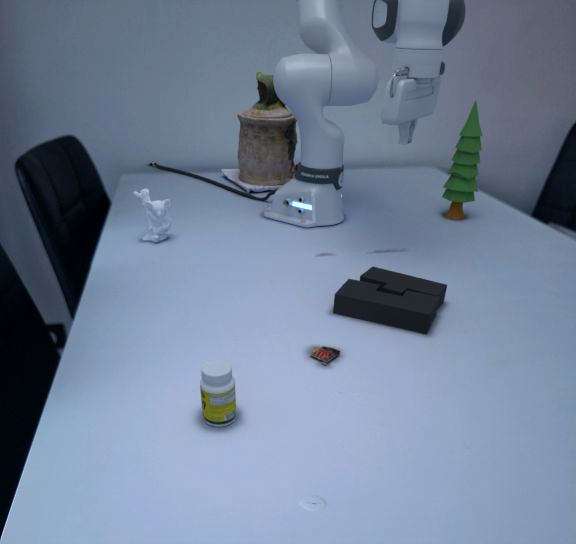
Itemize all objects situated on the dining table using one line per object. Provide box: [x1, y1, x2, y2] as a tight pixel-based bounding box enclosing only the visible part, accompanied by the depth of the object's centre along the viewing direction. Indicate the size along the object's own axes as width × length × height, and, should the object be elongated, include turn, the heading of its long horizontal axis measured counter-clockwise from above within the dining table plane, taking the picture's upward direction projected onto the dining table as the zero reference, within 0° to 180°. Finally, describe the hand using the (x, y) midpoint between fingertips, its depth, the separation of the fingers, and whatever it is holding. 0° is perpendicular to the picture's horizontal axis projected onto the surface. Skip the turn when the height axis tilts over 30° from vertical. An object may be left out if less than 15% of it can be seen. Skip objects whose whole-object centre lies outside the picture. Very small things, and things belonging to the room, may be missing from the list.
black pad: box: [359, 265, 448, 311], centre depth 105 cm, size 16×8×4 cm, turn 58°
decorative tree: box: [441, 99, 483, 221], centre depth 144 cm, size 10×9×30 cm
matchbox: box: [309, 345, 341, 366], centre depth 88 cm, size 5×5×1 cm
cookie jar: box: [221, 70, 298, 194], centre depth 170 cm, size 25×25×32 cm
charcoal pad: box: [332, 278, 440, 335], centre depth 100 cm, size 18×8×4 cm, turn 65°
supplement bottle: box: [199, 359, 238, 428], centre depth 72 cm, size 5×5×8 cm
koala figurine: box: [133, 188, 173, 243], centre depth 128 cm, size 8×7×12 cm
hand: (405, 143), depth 110 cm, fingers closed
